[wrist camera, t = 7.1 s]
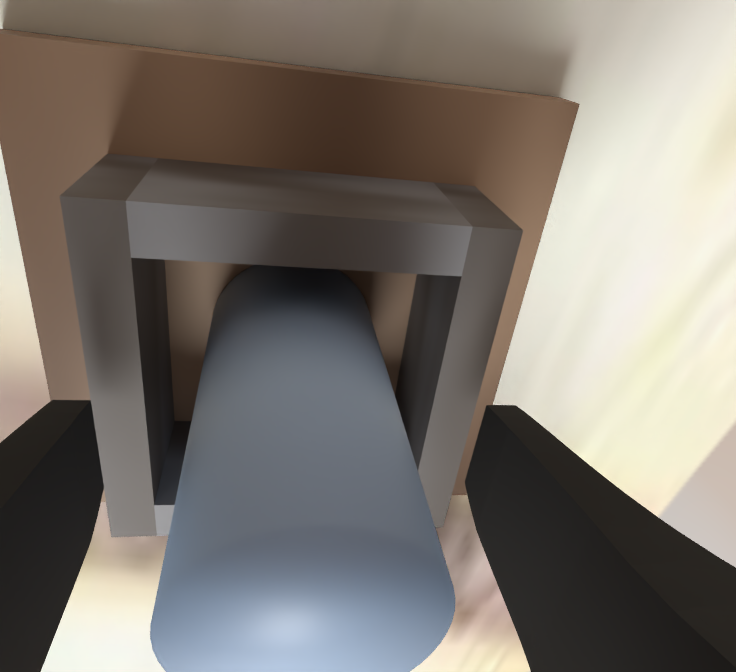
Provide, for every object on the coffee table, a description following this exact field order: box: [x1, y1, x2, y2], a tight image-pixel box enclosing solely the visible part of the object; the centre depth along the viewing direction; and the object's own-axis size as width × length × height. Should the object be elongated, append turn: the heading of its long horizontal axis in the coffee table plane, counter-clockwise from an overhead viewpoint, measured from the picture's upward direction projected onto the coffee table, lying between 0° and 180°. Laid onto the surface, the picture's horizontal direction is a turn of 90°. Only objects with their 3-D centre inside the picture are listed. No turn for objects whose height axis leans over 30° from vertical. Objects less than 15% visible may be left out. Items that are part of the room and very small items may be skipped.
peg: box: [150, 265, 455, 672], centre depth 11 cm, size 4×4×8 cm
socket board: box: [0, 29, 579, 537], centre depth 13 cm, size 12×12×4 cm
